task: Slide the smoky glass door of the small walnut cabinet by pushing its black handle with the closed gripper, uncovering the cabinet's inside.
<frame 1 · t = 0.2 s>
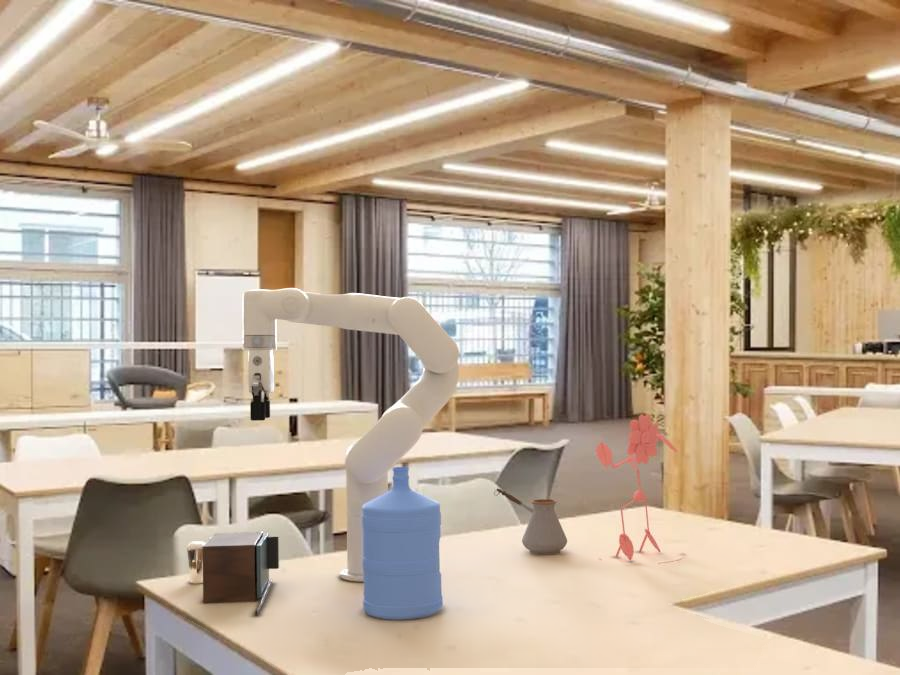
hand: (260, 419, 225), 36 cm above the table, tool pointing down, fingers open, 9 cm apart
glass door: (268, 563, 212), point 6 cm above the table, slide at 0.0 cm
figurine: (649, 559, 240), on the table
water jug: (403, 611, 194), on the table
coffee pot: (529, 550, 254), on the table
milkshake: (199, 583, 223), on the table
cabinet: (234, 593, 211), on the table
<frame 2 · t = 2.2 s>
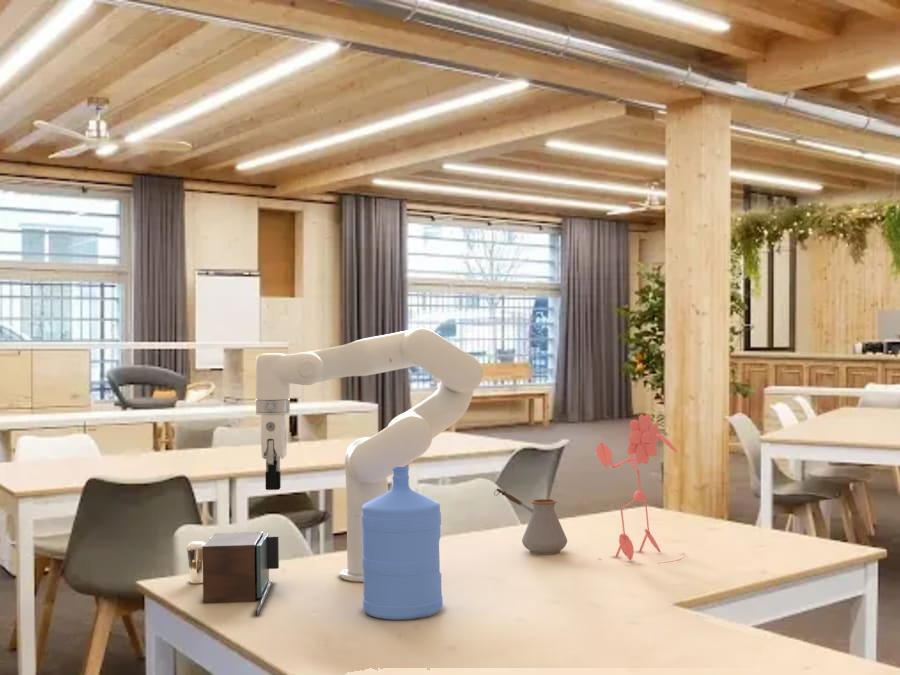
hand: (273, 489, 222), 21 cm above the table, tool pointing down, fingers closed
nothing on the table moved.
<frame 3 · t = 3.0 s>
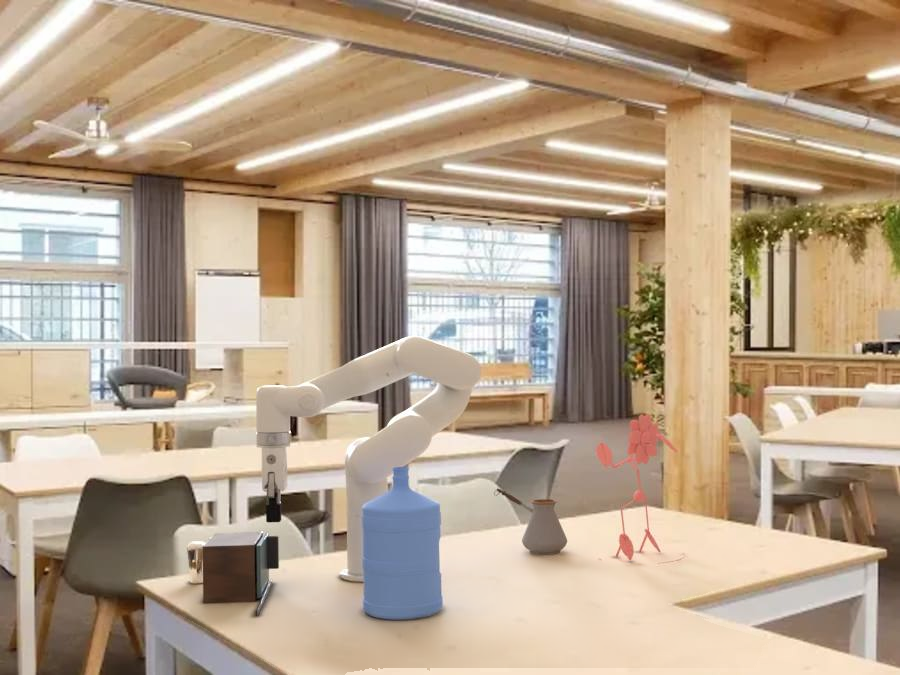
hand: (273, 521, 222), 13 cm above the table, tool pointing down, fingers closed
nothing on the table moved.
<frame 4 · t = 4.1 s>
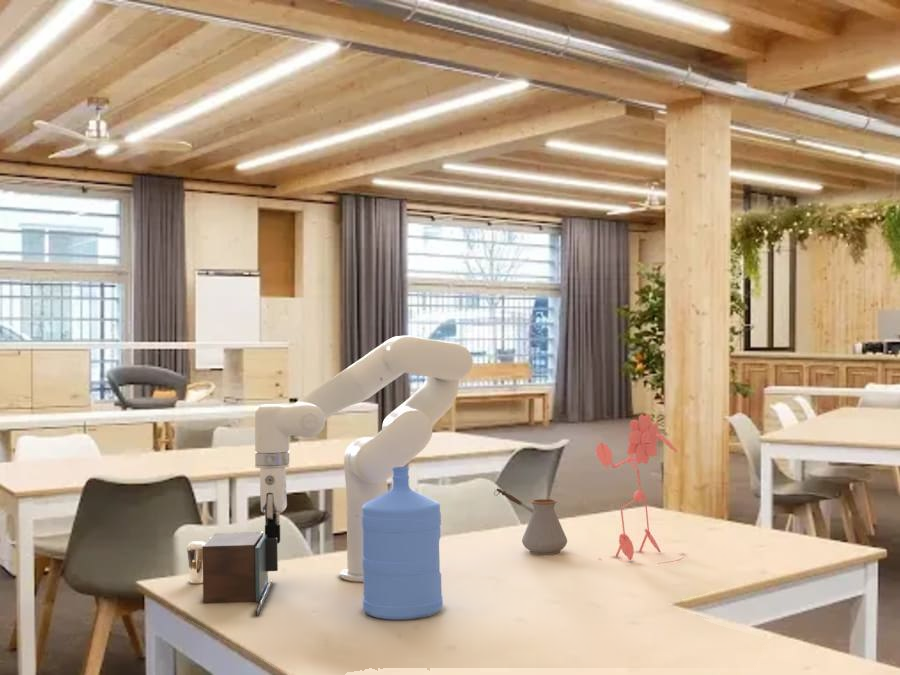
hand: (272, 542, 219), 9 cm above the table, tool pointing down, fingers closed
glass door: (267, 566, 210), point 6 cm above the table, slide at 2.5 cm, touching gripper
everything else where it was.
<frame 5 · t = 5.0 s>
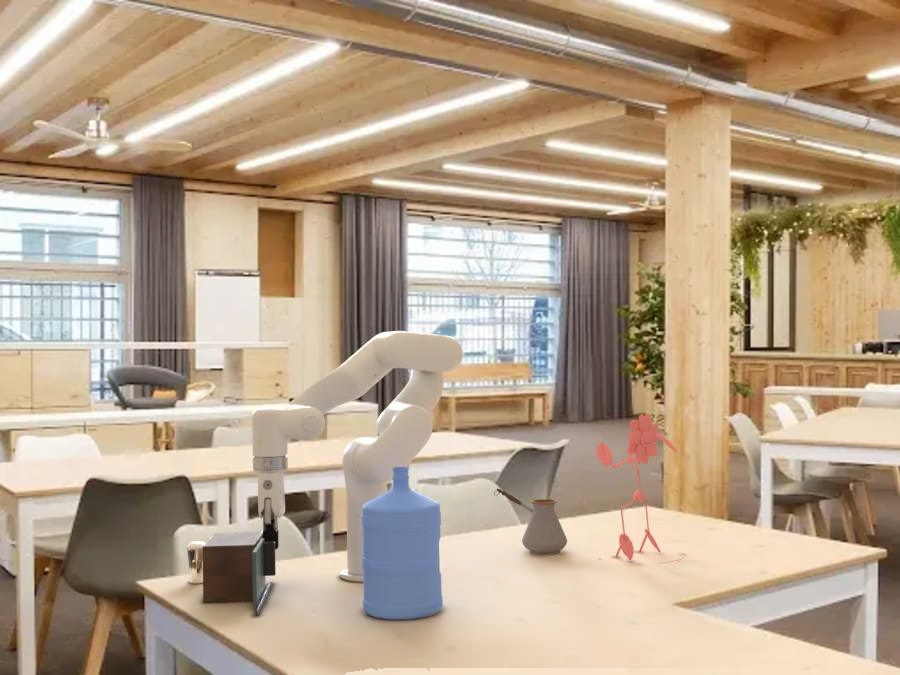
hand: (270, 548, 215), 9 cm above the table, tool pointing down, fingers closed
glass door: (265, 570, 205), point 6 cm above the table, slide at 7.0 cm, touching gripper
everything else where it was.
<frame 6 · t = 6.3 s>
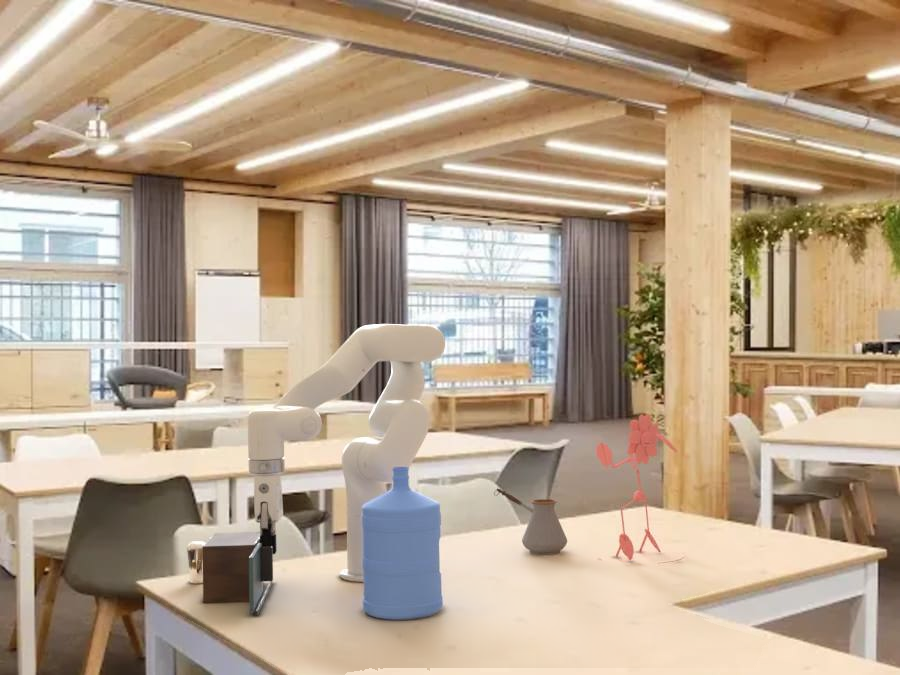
hand: (268, 553, 210), 9 cm above the table, tool pointing down, fingers closed
glass door: (262, 576, 200), point 6 cm above the table, slide at 12.4 cm, touching gripper
everything else where it was.
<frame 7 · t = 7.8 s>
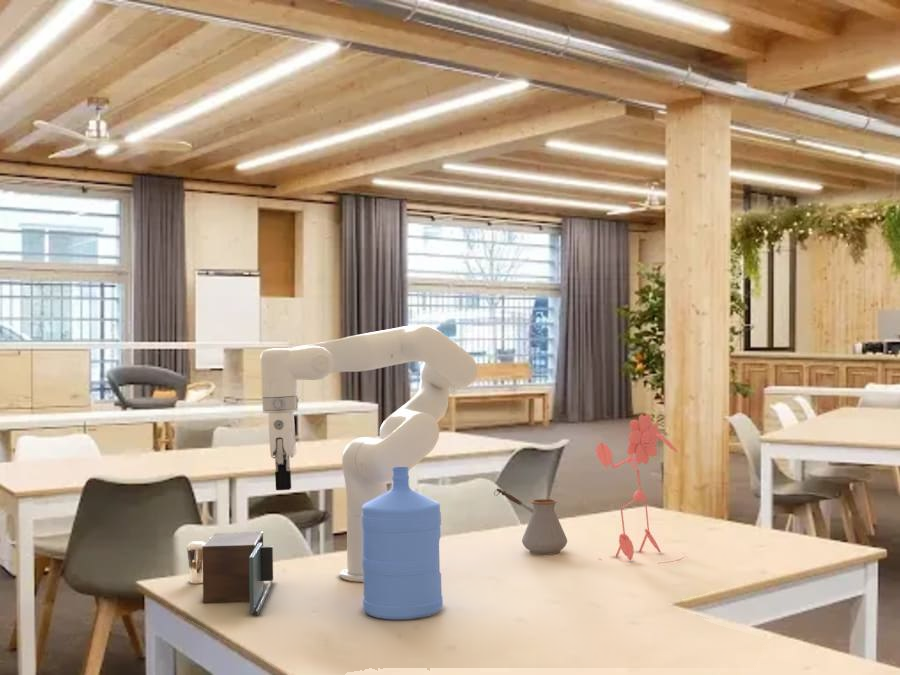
hand: (283, 489, 214), 22 cm above the table, tool pointing down, fingers closed
glass door: (262, 576, 200), point 6 cm above the table, slide at 12.0 cm
everything else where it was.
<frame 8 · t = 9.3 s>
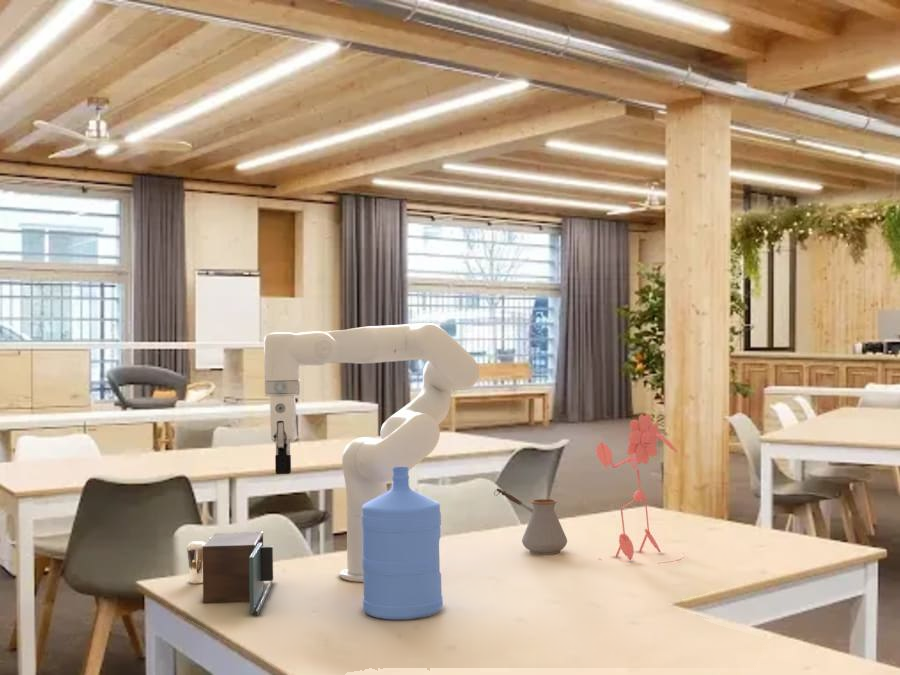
hand: (283, 473, 215), 25 cm above the table, tool pointing down, fingers closed
nothing on the table moved.
at the end: glass door slide at 12.0 cm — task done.
